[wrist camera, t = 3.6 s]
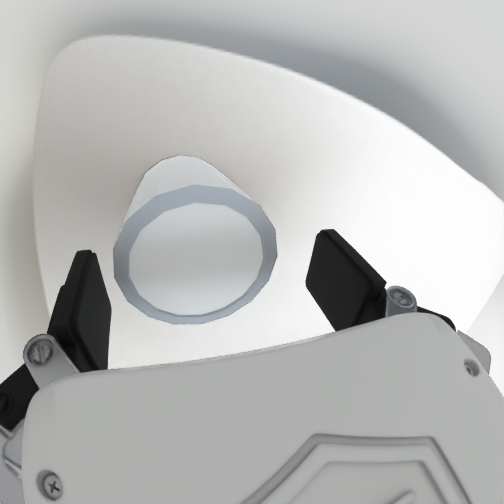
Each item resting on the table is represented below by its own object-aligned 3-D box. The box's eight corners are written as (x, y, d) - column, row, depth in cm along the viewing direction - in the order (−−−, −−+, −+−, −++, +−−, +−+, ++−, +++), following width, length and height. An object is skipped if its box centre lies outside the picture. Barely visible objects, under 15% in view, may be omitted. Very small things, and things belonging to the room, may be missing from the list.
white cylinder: (134, 253, 17) (132, 335, 12) (119, 151, 13) (94, 197, 8) (233, 241, 19) (270, 313, 14) (238, 142, 15) (289, 180, 10)
